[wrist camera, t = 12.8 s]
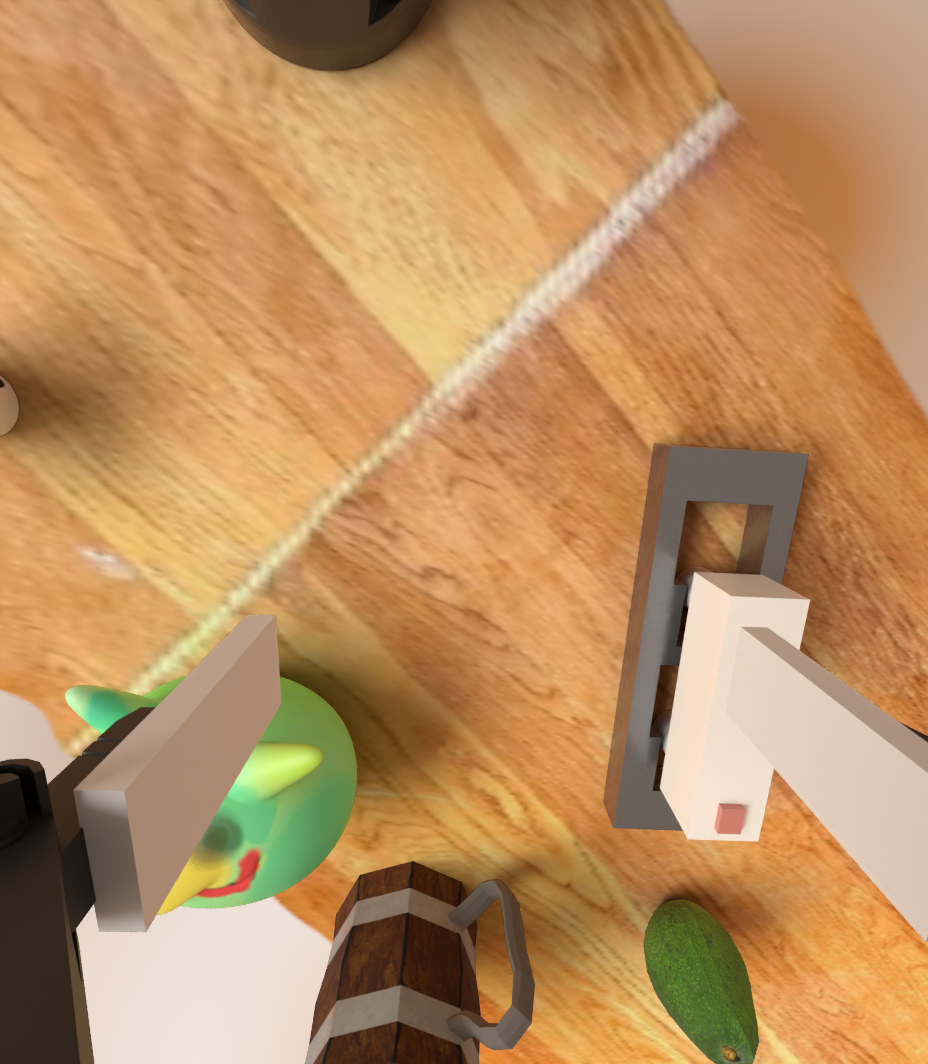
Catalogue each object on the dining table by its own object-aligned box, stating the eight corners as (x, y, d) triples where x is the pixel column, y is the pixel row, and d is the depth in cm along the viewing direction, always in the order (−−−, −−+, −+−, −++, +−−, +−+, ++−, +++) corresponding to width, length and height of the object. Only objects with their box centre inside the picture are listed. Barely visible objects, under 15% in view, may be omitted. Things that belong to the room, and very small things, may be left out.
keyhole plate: (654, 443, 39) (670, 446, 36) (782, 451, 39) (809, 454, 36) (603, 801, 46) (613, 827, 43) (712, 806, 46) (729, 832, 43)
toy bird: (156, 787, 45) (16, 961, 31) (164, 610, 41) (8, 714, 27) (359, 814, 46) (314, 995, 31) (384, 643, 42) (346, 761, 28)
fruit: (637, 951, 50) (692, 1116, 38) (621, 888, 48) (674, 1040, 36) (718, 933, 49) (799, 1093, 38) (705, 869, 48) (785, 1016, 36)
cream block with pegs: (668, 555, 41) (735, 599, 31) (730, 557, 41) (815, 602, 31) (640, 751, 45) (691, 845, 35) (695, 753, 45) (762, 847, 35)
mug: (399, 995, 51) (376, 1231, 36) (306, 912, 48) (241, 1129, 34) (556, 892, 48) (600, 1101, 33) (467, 799, 46) (472, 980, 31)
